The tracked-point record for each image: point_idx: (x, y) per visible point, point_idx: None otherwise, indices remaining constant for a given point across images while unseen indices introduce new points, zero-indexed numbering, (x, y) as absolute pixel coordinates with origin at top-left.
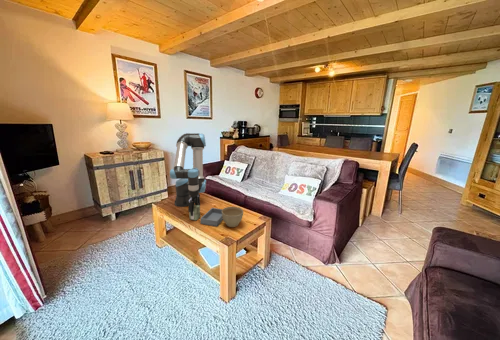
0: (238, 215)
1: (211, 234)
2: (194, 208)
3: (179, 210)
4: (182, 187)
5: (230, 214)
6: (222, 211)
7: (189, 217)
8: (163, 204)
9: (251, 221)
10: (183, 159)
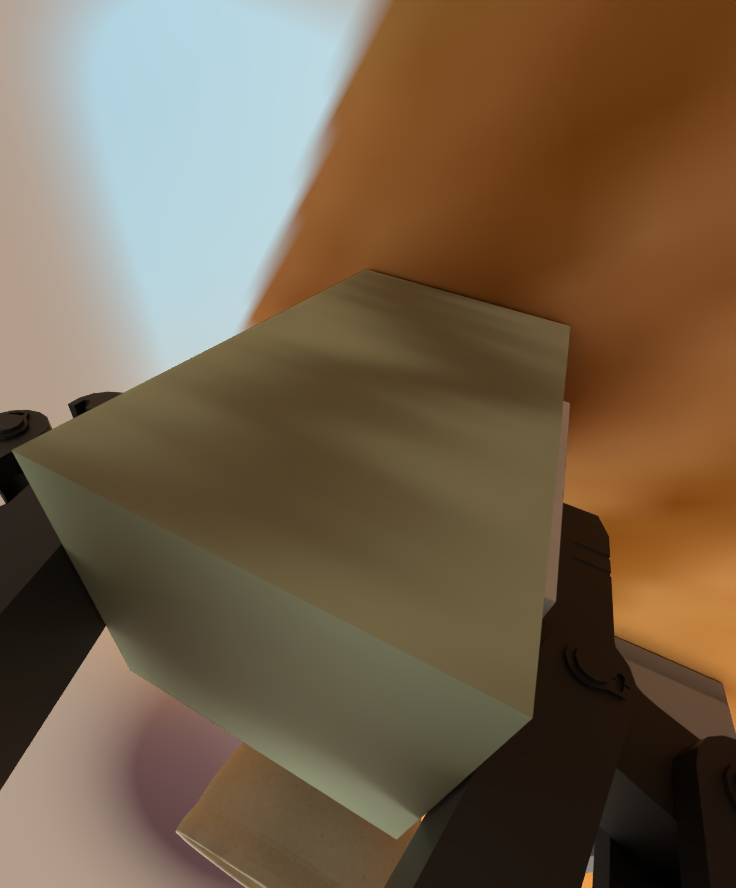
0: (225, 871)
1: None
2: (116, 641)
3: None
4: None
5: (413, 827)
6: (274, 861)
7: (342, 282)
8: None
9: (424, 816)
10: None
